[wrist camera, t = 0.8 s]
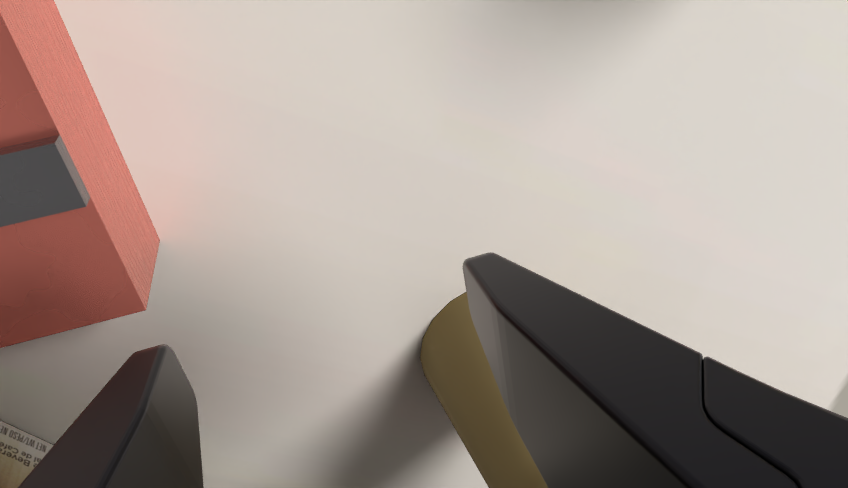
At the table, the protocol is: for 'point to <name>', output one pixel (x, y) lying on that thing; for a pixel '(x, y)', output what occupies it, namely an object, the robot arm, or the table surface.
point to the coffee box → (18, 455)
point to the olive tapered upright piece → (475, 399)
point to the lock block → (62, 189)
